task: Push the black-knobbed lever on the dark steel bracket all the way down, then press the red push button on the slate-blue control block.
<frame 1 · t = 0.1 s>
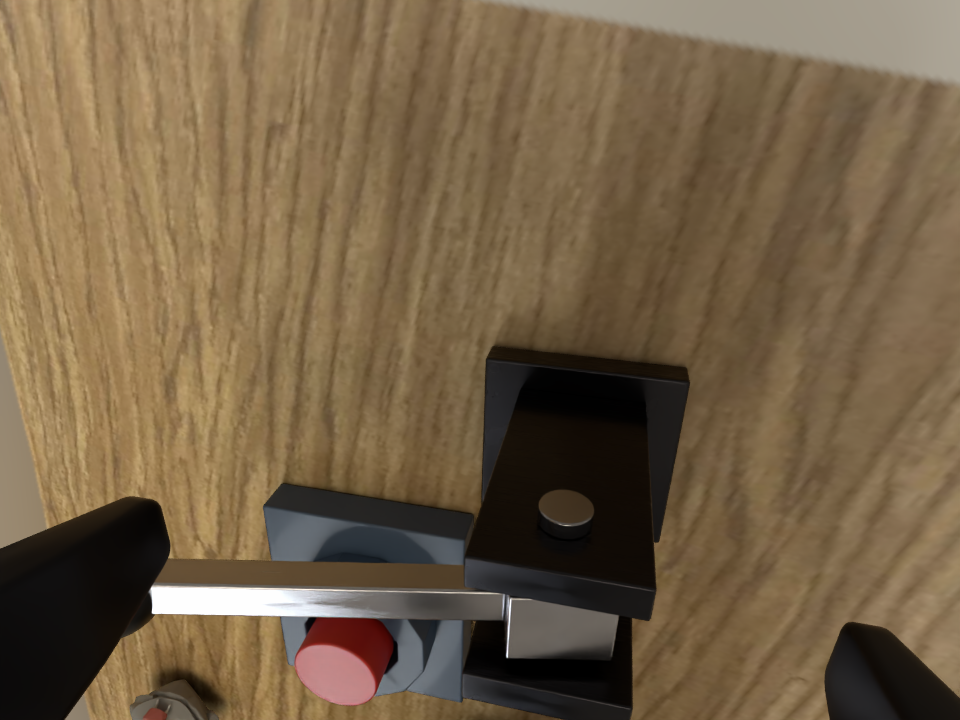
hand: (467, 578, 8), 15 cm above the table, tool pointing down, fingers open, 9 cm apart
lever bracket: (578, 437, 24), on the table
button block: (380, 582, 29), on the table
figurine: (193, 691, 37), on the table
toaster lever: (334, 589, 17), point 9 cm above the table, hinge at 12.0°
red button: (345, 654, 26), point 4 cm above the table, slide at 0.1 cm
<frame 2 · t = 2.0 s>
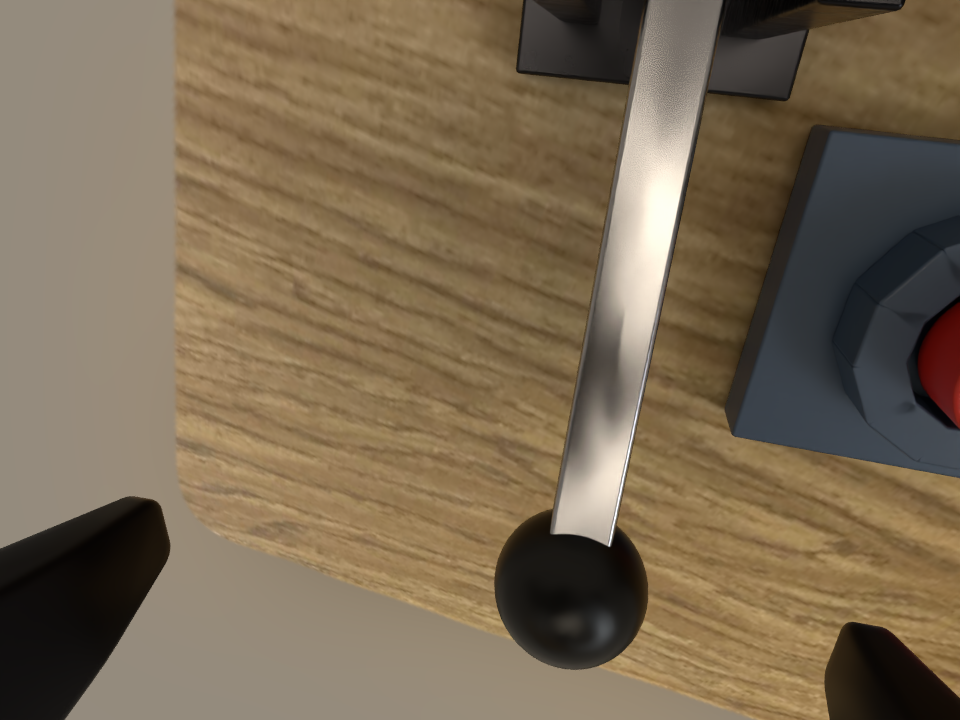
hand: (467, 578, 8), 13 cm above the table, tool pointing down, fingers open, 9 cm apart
button block: (942, 308, 18), on the table
toaster lever: (632, 260, 10), point 9 cm above the table, hinge at 12.0°
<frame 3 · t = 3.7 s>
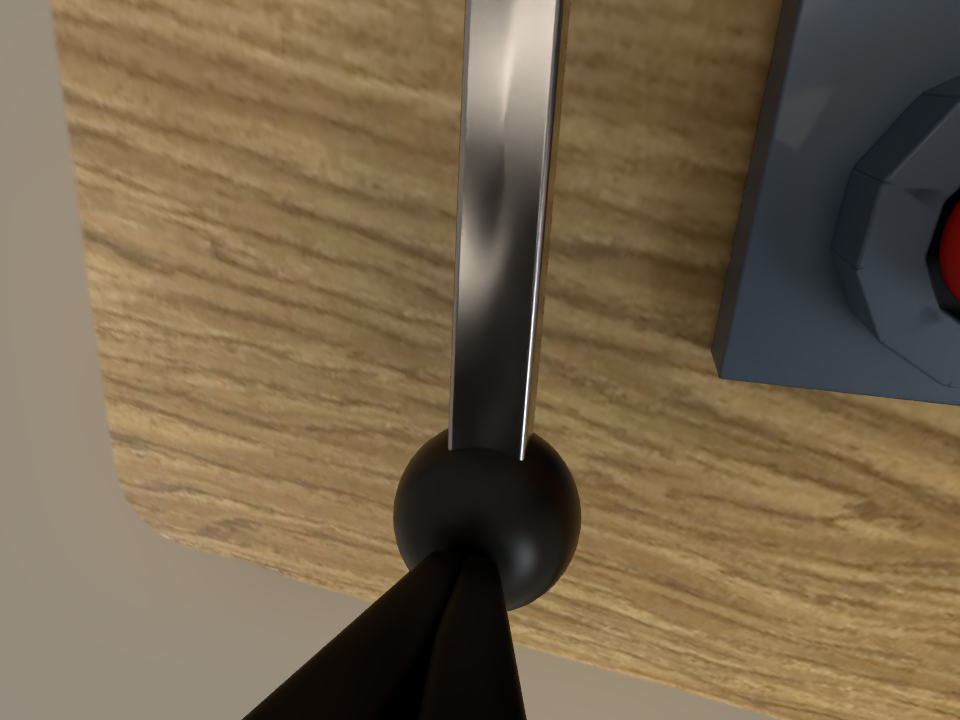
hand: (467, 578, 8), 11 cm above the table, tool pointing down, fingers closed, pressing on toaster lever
toaster lever: (514, 78, 7), point 9 cm above the table, hinge at 7.4°, touching gripper
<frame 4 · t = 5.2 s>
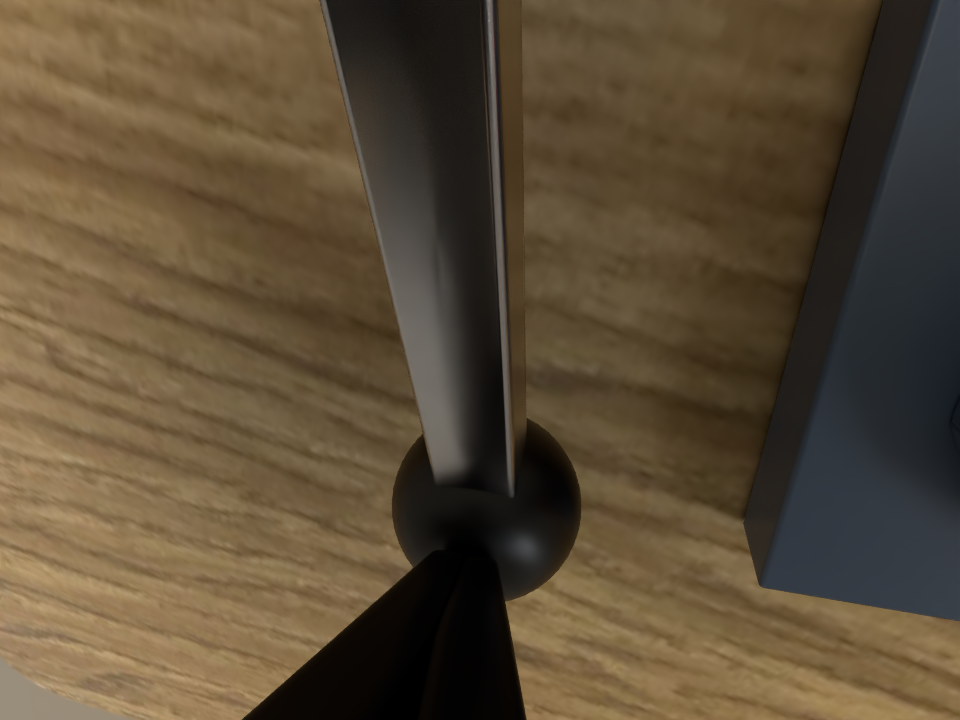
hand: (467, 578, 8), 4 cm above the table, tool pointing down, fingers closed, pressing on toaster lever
toaster lever: (442, 126, 5), point 6 cm above the table, hinge at -24.2°, touching gripper
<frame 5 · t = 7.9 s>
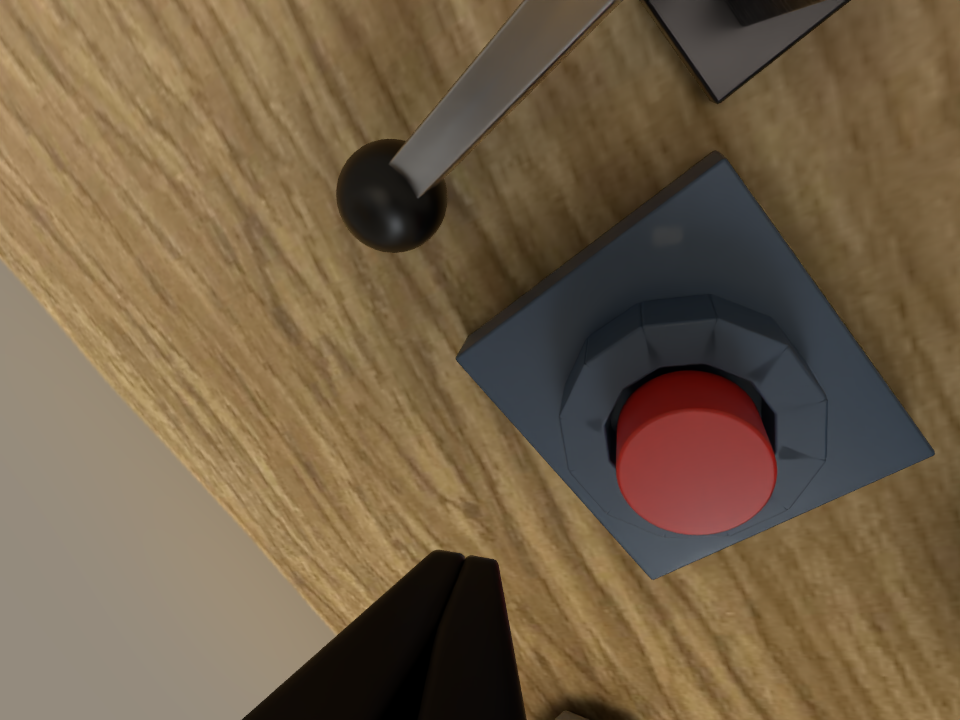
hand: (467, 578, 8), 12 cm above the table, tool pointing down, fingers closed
button block: (678, 377, 19), on the table
toaster lever: (542, 33, 11), point 5 cm above the table, hinge at -26.7°
red button: (690, 451, 15), point 4 cm above the table, slide at 0.1 cm
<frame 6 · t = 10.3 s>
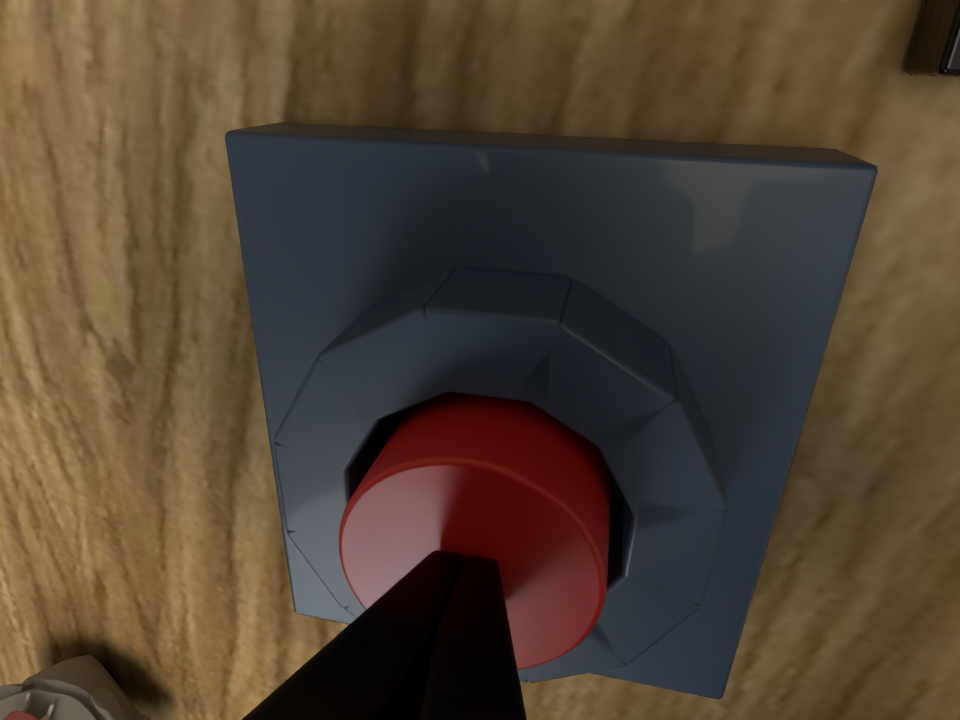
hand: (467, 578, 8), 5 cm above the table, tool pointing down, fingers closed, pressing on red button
button block: (519, 405, 12), on the table
figurine: (113, 679, 20), on the table
red button: (482, 524, 9), point 4 cm above the table, slide at -0.5 cm, touching gripper
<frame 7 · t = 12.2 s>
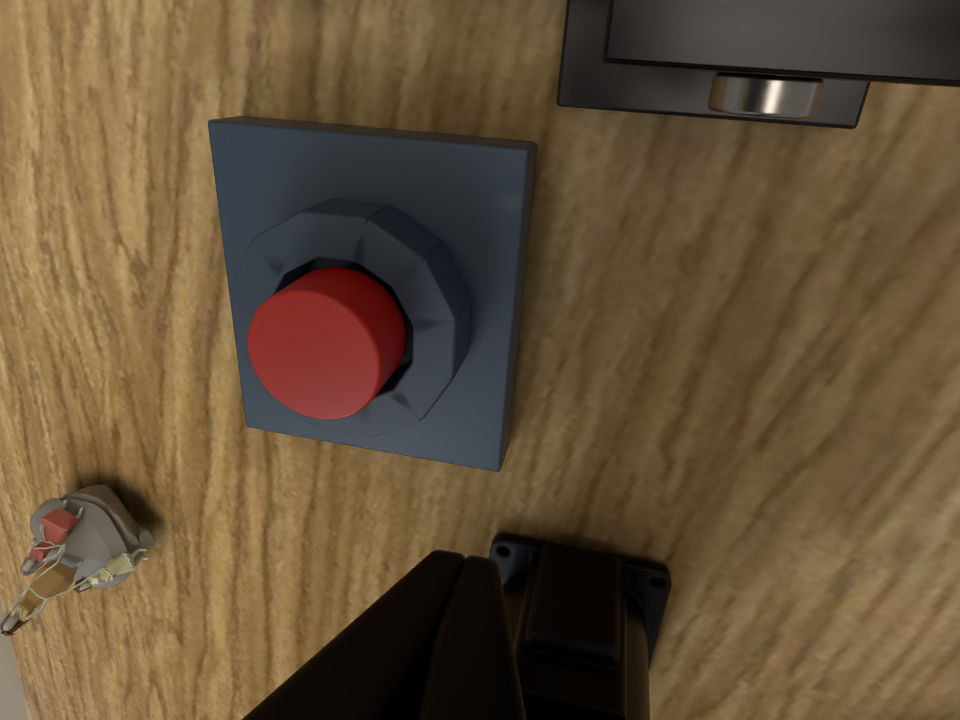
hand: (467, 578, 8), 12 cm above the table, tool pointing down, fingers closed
button block: (384, 292, 20), on the table
figurine: (121, 509, 27), on the table
red button: (329, 342, 16), point 4 cm above the table, slide at 0.1 cm
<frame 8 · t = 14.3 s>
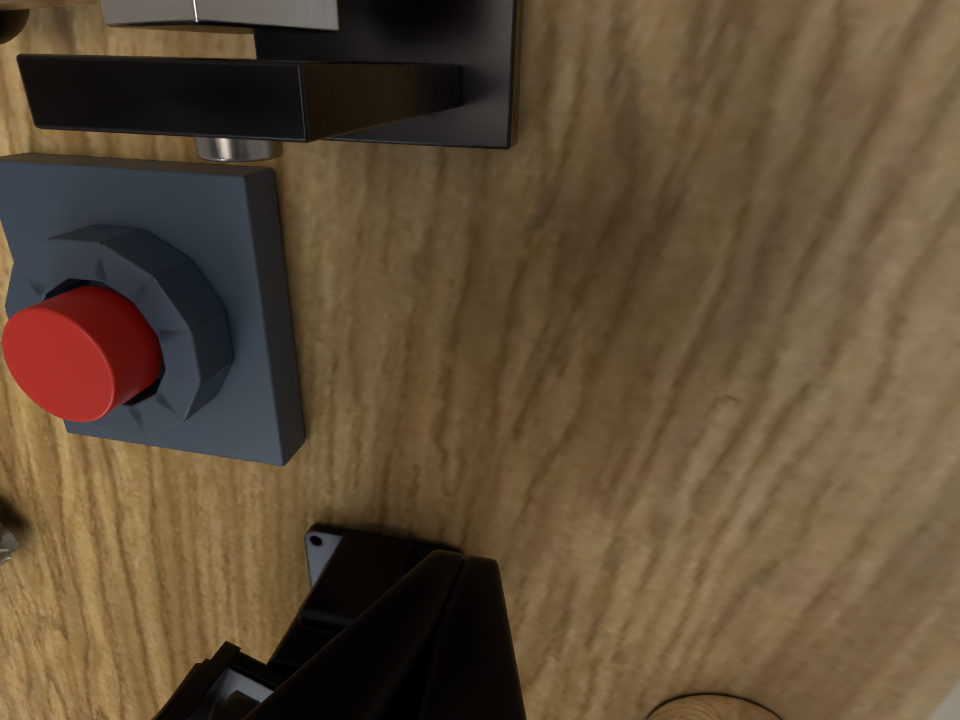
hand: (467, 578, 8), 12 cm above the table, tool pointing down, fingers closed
button block: (175, 305, 22), on the table
red button: (85, 353, 18), point 4 cm above the table, slide at 0.1 cm
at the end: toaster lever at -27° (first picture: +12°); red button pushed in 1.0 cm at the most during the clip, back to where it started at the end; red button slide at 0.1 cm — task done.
